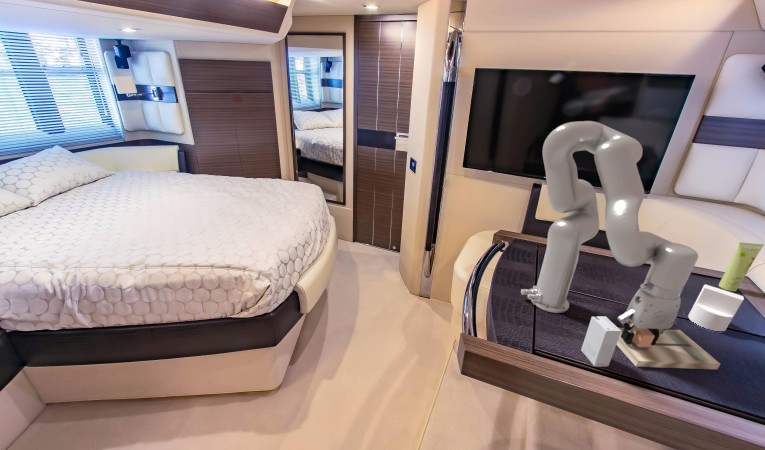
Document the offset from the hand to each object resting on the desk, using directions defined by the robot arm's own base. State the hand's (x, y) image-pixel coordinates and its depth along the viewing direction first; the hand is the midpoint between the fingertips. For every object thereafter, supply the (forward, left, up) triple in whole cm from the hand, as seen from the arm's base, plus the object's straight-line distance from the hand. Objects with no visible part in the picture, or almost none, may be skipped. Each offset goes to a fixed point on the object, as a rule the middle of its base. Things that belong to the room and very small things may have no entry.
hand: (637, 340), depth 91 cm
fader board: (+7, 0, -3) cm, 8 cm away
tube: (+60, +34, -3) cm, 69 cm away
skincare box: (-14, -4, -3) cm, 15 cm away
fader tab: (0, 0, -1) cm, 1 cm away
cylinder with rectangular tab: (+33, +13, -3) cm, 36 cm away
